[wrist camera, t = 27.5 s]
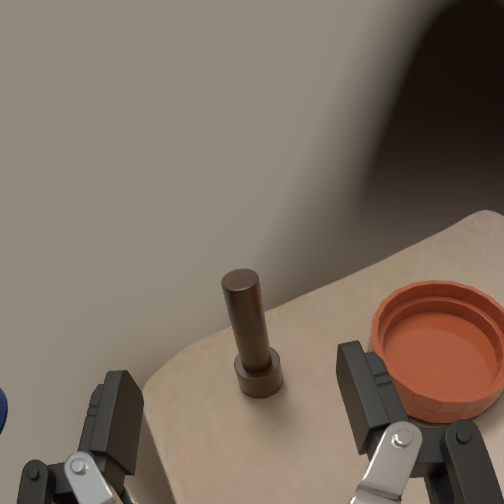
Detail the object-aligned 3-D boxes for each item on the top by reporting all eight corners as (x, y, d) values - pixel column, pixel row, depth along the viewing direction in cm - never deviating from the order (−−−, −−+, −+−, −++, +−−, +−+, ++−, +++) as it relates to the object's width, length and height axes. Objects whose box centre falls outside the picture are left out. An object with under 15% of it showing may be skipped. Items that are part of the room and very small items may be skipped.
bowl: (334, 364, 29) (336, 336, 27) (420, 291, 35) (425, 263, 33) (457, 457, 18) (477, 435, 16) (522, 348, 24) (536, 321, 22)
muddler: (231, 378, 29) (201, 278, 23) (265, 358, 31) (247, 256, 25) (255, 405, 26) (229, 306, 20) (291, 382, 28) (280, 279, 22)
